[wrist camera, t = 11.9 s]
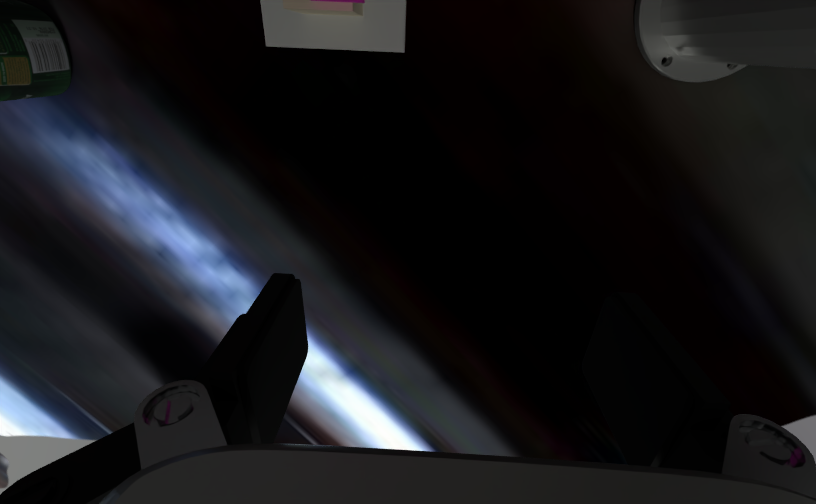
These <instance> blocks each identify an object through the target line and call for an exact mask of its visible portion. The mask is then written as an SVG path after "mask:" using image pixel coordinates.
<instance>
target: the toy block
mask: <svg viewBox="0 0 816 504" xmlns="http://www.w3.org/2000/svg"><path fill="white" fill-rule="evenodd" d="M311 1H328V2H352V3H365V0H311Z"/></svg>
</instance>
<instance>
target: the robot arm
mask: <svg viewBox="0 0 816 504" xmlns="http://www.w3.org/2000/svg"><path fill="white" fill-rule="evenodd" d="M634 26H635V35H636V40H637V44H638V47H639V49H640V51H641V53H642V56H643V58H644V59H645V60H646V61H647V63H648V64H649V65H650V66H651V67H652V68H653V69H654V70H656V71H657V72H658V73H660V74H661V75H663V76H666V77H668V78H670V79H673V80H679V81H684V82H704V81H711V80H716V79H719V78H722V77H725V76H728V75H730V74H732V73H734V72H736V71H738V70H740V69H742V68H744V67H746V66H747V65H759V66H778V67H796V68H815V69H816V0H636V7H635V13H634ZM663 58H664V61H663V63H661V62H662V59H663ZM307 353H308V340H307V332H306V323H305V315H304V306H303V298H302V289H301V282H300V280H299V279H295V277H294V275H293V274H281V273H274V274H273V275H272V276H271V277H270V279H269V280H268V282H267V283H266V285H265V286H264V288H263V289H262V291H261V292H260V294H259V295H258V297H257V298H256V300H255V301H254V303H253V304H252V306H251V307H250V309H249V310H248V312H247V313H246V314H242V315H240V316H239V317H238V318H237V319H236V321H235V322H234V324H233V325H232V326H231V328H230V329H229V331H228V332H227V334H226V335H225V337H224V338H223V339H222V341H221V342H220V344H219V345H218V347H217V348H216V349H215V351H214V352H213V354H212V355H211V357H210V358H209V359H208V361H207V362H206V364H205V365H204V367H203V368H202V370H201V371H200V372H199V374H198V375H197V377H196V378H195V380H194V381H193V380H181V381H175V382H172V383H169V384H166V385H164V386H162V387H160V388H158V389H156V390H155V391H153V392H152V393H151V394H149V395H148V396H147V397H146V398H145V399H144V400H143V401H142V402H141V403H140V404H139V406H138V408H137V410H136V412H135V415H134V423H132V424H130V425H128V426H126V427H124V428H122V429H120V430H117V431H115V432H113V433H111V434H109V435H107V436H105V437H103V438H101V439H99V440H97V441H95V442H93V443H91V444H89V445H87V446H85V447H83V448H81V449H79V450H77V451H75V452H73V453H70V454H69V455H66V456H64V457H62V458H60V459H58V460H56V461H54V462H52V463H50V464H48V465H46V466H44V467H42V468H40V469H38V470H36V471H34V472H32V473H30V474H28V475H27V476H25V477H23V478H21V479H20V480H18V481H16V482H15V483H14V484H13V485H11V486H10V487H9V488H7V489H6V490H5V491H4V492H2V494H1V495H0V504H816V464H815V461H814V458H813V455H812V454H811V453H810V451H809V450H808V448H807V447H806V446H805V445H804V444H803V443H802V442H801V441H800V440H799V439H798V438H797V437H796V436H794V435H793V434H791V433H790V432H789V431H787V430H786V429H784V428H783V427H781V426H779V425H777V424H775V423H774V422H772V421H769V420H767V419H764V418H762V417H758V416H754V415H749V414H739V415H737V416H735V417H734V415H733V414H732V413H731V412H730V411H729V407H730V406H731V403H730V402H729V401H728V400H727V398H726V397H725V396H724V395H723V394H722V393H721V391H720V390H719V389H718V388H717V387H716V386H715V384H714V383H713V382H712V381H711V380H710V379H709V377H708V376H707V375H706V374H705V373H704V372H703V370H702V369H701V368H700V367H699V366H698V365H697V363H696V362H695V361H694V360H693V359H692V358H691V356H690V355H689V354H688V353H687V352H686V351H685V349H684V348H683V347H682V346H681V345H680V344H679V342H678V341H677V340H676V339H675V338H674V337H673V335H672V334H671V333H670V332H669V331H668V330H667V328H666V327H665V326H664V325H663V324H662V323H661V321H660V320H659V319H658V318H657V317H656V316H655V314H654V313H653V312H652V311H651V310H650V309H649V307H648V306H647V305H646V304H645V303H644V302H643V300H642V299H641V298H640V297H639V296H638V295H637V294H634V293H619V292H615V293H613V294H612V295H611V297H607V298H606V299H605V301H604V304H603V307H602V310H601V313H600V315H599V318H598V321H597V324H596V326H595V329H594V332H593V335H592V337H591V340H590V343H589V346H588V348H587V351H586V354H585V357H584V360H583V364H582V368H583V373H584V375H585V377H586V379H587V381H588V383H589V385H590V387H591V389H592V392H593V394H594V396H595V398H596V400H597V402H598V404H599V406H600V408H601V410H602V412H603V414H604V416H605V418H606V420H607V422H608V425H609V427H610V429H611V431H612V433H613V435H614V437H615V439H616V441H617V443H618V445H619V447H620V449H621V451H622V453H623V455H624V458H625V460H626V462H627V464H628V465H624V464H610V463H596V462H581V461H567V460H553V459H538V458H523V457H507V456H492V455H476V454H461V453H445V452H429V451H412V450H395V449H378V448H361V447H344V446H323V445H299V444H273V443H274V440H275V437H276V435H277V432H278V430H279V427H280V424H281V422H282V419H283V417H284V414H285V411H286V409H287V406H288V404H289V401H290V398H291V396H292V393H293V391H294V388H295V385H296V383H297V380H298V378H299V375H300V373H301V370H302V367H303V365H304V362H305V360H306V357H307Z"/></svg>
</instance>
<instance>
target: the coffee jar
mask: <svg viewBox="0 0 816 504" xmlns="http://www.w3.org/2000/svg"><path fill="white" fill-rule="evenodd" d="M70 83H71V61H70V55H69V52H68V48H67V45H66V43H65V41H64V39H63V36H62V34H61V32H60V30H59V29H58V27H57V26H56V24H55V23H54V22H53V20H52V19H51V18H50V17H49V16H48V15H47V14H45V13H44V12H43V11H41V10H40V9H38V8H36V7H34V6H32V5H29V4H27V3H24V2H22V1H18V0H0V101H7V100H17V99H26V98H36V97H45V96H53V95H59V94H62V93H63V92H65V91H66V90H67V89H68V87H69V85H70Z"/></svg>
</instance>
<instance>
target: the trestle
mask: <svg viewBox="0 0 816 504" xmlns="http://www.w3.org/2000/svg"><path fill="white" fill-rule="evenodd" d="M260 1H261V9H262V17H263V25H264V33H265V41H266V46H272V47H295V48H317V49H339V50H362V51H384V52H405V25H406V0H365V3H352V2H328V1H311V0H260Z"/></svg>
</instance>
